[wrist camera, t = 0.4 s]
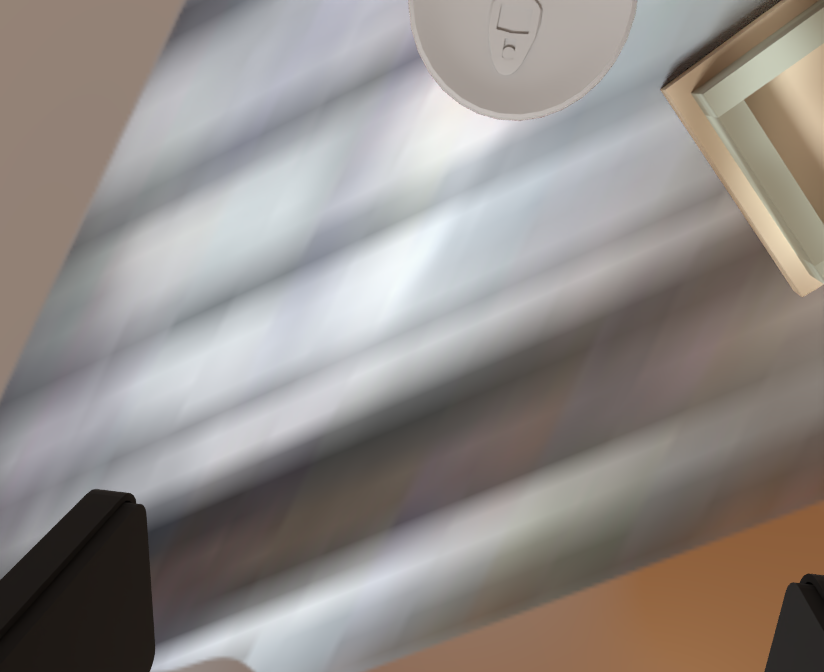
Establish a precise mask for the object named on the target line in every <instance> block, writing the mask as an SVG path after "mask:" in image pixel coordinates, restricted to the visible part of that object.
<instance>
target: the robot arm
mask: <svg viewBox="0 0 824 672" xmlns="http://www.w3.org/2000/svg"><path fill="white" fill-rule="evenodd" d="M154 655H155V637H154V622H153V607H152V592H151V577H150V562H149V547H148V532H147V517H146V509H145V507H144V506H143V505H142V504H136V499H135V497H134V495H132V494H131V493H125V492H116V491H108V490H99V489H94V490H91V491H90V492H89V493H87V494H86V495H85V496H84V497H83V498H82V499H81V500H80V501H79V502H78V503H77V504H76V505H75V506H74V507H73V508H72V509H71V510H70V511H69V512H68V513H67V514H66V515H65V516H64V517H63V518H62V519H61V520H60V521H59V522H58V523H57V524H56V525H55V526H54V527H53V528H52V529H51V530H50V531H49V532H48V533H47V534H46V535H45V536H44V537H43V538H42V539H41V540H40V541H39V542H38V543H37V544H36V545H35V546H34V547H33V548H32V549H31V550H30V551H29V552H28V553H27V554H26V555H25V556H24V557H23V558H22V559H21V560H20V561H19V562H18V563H17V564H16V565H15V566H14V567H13V568H12V569H11V570H10V571H9V572H8V573H7V574H6V575H5V576H4V577H3V578H2V579H1V580H0V672H150V670H151V667H152V664H153V660H154ZM765 672H824V575H816V574H806V575H804V576H803V578H802V579H801V581H800V583H790V585H789V586H788V587H787V590H786V593H785V597H784V601H783V604H782V608H781V612H780V615H779V619H778V623H777V627H776V630H775V634H774V638H773V642H772V646H771V649H770V653H769V657H768V661H767V664H766V668H765Z"/></svg>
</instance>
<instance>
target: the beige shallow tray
mask: <svg viewBox="0 0 824 672" xmlns="http://www.w3.org/2000/svg"><path fill="white" fill-rule="evenodd" d="M660 90H661V91H662V93H663V94H664V96H665V97H666V99H667V100H668V102H669V103H670V105H671V106H672V108H673V109H674V111H675V113H676V114H677V116H678V117H679V119H680V120H681V122H682V123H683V125H684V126H685V128H686V129H687V131H688V132H689V134H690V135H691V137H692V138H693V140H694V141H695V143H696V144H697V146H698V147H699V149H700V150H701V152H702V153H703V155H704V156H705V158H706V159H707V161H708V162H709V164H710V165H711V167H712V168H713V170H714V171H715V173H716V174H717V176H718V177H719V179H720V180H721V182H722V183H723V185H724V186H725V188H726V189H727V191H728V192H729V194H730V195H731V197H732V198H733V200H734V201H735V203H736V204H737V206H738V208H739V209H740V211H741V212H742V214H743V215H744V217H745V218H746V220H747V221H748V223H749V224H750V226H751V227H752V229H753V230H754V232H755V233H756V235H757V236H758V238H759V239H760V241H761V242H762V244H763V245H764V247H765V248H766V250H767V251H768V253H769V254H770V256H771V257H772V259H773V260H774V262H775V263H776V265H777V266H778V268H779V269H780V271H781V272H782V274H783V275H784V277H785V278H786V280H787V281H788V283H789V284H790V286H791V287H792V289H793V290H794V291H795V292H796V293H797V294H799V295H800V296H801V297H804V296H805V295H807V294H809V293H810V292H812V291H814V290H815V289H817V288H819V287H820V286H822V285H823V284H824V0H781V1H780V2H779V3H777V4H776V5H774V6H773V7H772V8H770V9H769V10H768V11H766V12H765V13H764V14H762V15H761V16H759V17H758V18H757V19H755V20H754V21H753V22H751V23H750V24H749V25H747V26H746V27H745V28H743V29H742V30H740V31H739V32H738V33H736V34H735V35H734V36H732V37H731V38H730V39H728V40H727V41H725V42H724V43H723V44H721V45H720V46H719V47H717V48H716V49H715V50H713V51H712V52H711V53H709V54H708V55H706V56H705V57H704V58H702V59H701V60H700V61H698V62H697V63H696V64H694V65H693V66H692V67H690V68H689V69H687V70H686V71H685V72H683V73H682V74H681V75H679V76H678V77H677V78H675V79H674V80H672V81H671V82H670V83H668V84H667V85H666V86H664V87H663V88H662V89H660Z"/></svg>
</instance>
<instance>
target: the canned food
mask: <svg viewBox="0 0 824 672" xmlns="http://www.w3.org/2000/svg"><path fill="white" fill-rule="evenodd" d="M408 5H409V13H410V22H411V30H412V33H413V36H414V40H415V43H416V46H417V49H418V52H419V54H420V56H421V58H422V60H423V62H424V64H425V66H426V68H427V70H428V72H429V73H430V75H431V76H432V77H433V78H434V80H435V81H436V82H437V83H438V85H439V86H440V87H441V88H442V90H443V91H445V92H446V93H447V94H448V95H449V96H451V97H452V98H453V99H454V100H455V101H457V102H458V103H459V104H461V105H463V106H464V107H466V108H468V109H470V110H472V111H474V112H476V113H478V114H481V115H484V116H488V117H491V118H495V119H499V120H515V121H522V120H528V119H535V118H541V117H544V116H547V115H550V114H552V113H555V112H558V111H560V110H563V109H564V108H566V107H568V106H569V105H571V104H573V103H574V102H576V101H578V100H579V99H581V98H582V97H583V96H585V95H586V94H587V93H588V92H589V91H590V90H591V89H592V88H593V87H595V86H596V85H597V84H598V83H599V82H600V81H601V80H602V78H603V77H604V76H605V74H606V73H607V72H608V71H609V69H610V68H611V67H612V65H613V64H614V63H615V61H616V59H617V57H618V55H619V54H620V52H621V50H622V48H623V46H624V44H625V42H626V40H627V38H628V35H629V32H630V29H631V26H632V23H633V20H634V17H635V14H636V7H637V0H408Z"/></svg>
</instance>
